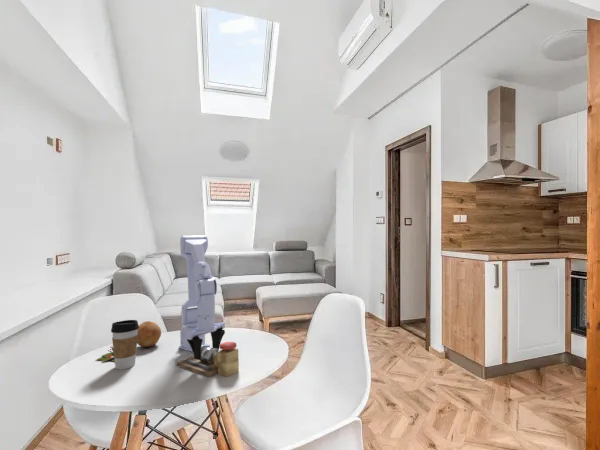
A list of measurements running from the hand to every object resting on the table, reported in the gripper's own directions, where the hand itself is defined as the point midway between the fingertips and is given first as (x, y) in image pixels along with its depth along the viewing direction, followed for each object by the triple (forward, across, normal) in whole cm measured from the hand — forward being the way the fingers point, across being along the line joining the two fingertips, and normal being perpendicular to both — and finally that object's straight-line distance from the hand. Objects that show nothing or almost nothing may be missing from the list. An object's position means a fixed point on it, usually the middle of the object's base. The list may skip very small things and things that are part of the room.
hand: (206, 355), depth 107 cm
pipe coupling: (+2, 0, 0) cm, 2 cm away
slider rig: (+3, 0, -2) cm, 4 cm away
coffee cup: (+4, -15, +24) cm, 29 cm away
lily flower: (+4, -13, +36) cm, 38 cm away
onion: (+4, 0, +36) cm, 36 cm away
